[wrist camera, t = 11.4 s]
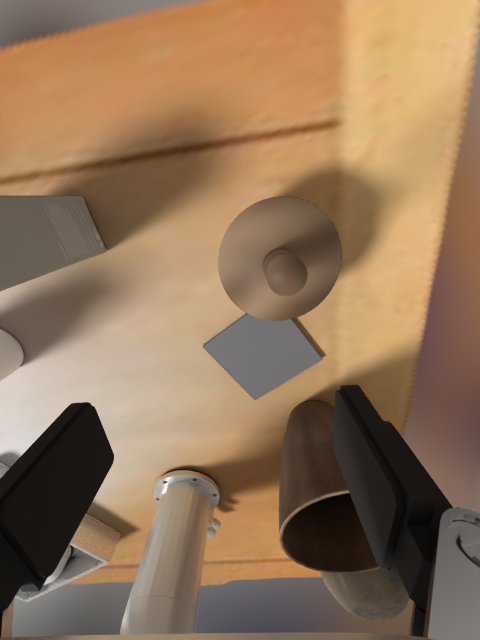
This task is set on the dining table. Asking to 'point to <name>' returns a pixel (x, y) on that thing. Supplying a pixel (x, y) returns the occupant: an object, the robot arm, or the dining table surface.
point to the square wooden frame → (94, 553)
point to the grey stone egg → (368, 593)
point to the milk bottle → (9, 354)
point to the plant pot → (318, 498)
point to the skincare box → (44, 236)
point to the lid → (279, 258)
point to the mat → (262, 353)
